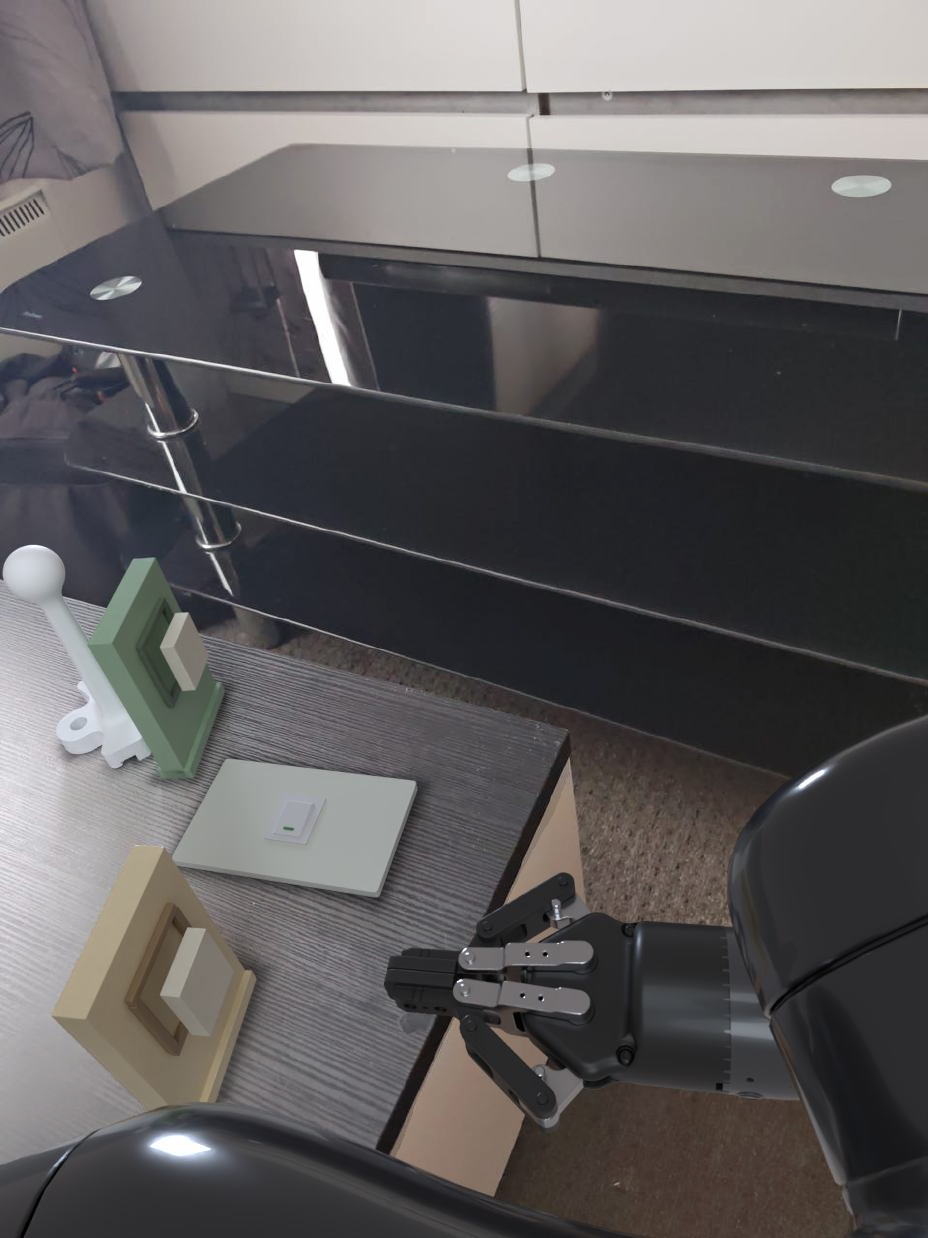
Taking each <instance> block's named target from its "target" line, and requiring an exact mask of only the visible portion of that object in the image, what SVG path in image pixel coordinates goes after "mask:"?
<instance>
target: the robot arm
mask: <svg viewBox="0 0 928 1238" xmlns="http://www.w3.org/2000/svg"><path fill="white" fill-rule="evenodd" d="M726 875H727V876H726V878H727V879H726V898H727V899H726V901H727V907H728V908H727V909H728V914H729V917H730V922H731V926H729V925H728V926H727V925H715V924H699V923H684V922H671V921H670V922H669V921H656V920H640V921H635V922H624V921H621V920H618V919H616V918H613V916H611V915H609V914H607V913H605V912H599V911H595V912H592V911H591V910H590V908H589V907H588V906H587V904H586V903H585V902H584V900H583V899H582V898H581V897H580V895H579V894H578V892H577V891H576V882H575V878H574V876H573V875H572V874H571V873H569V872H565V871H564V872H563V871H562V872H558V873H556V874H555V875H552V876H551V877H549V878H547V879H546V880H545V881H543V882H541V883H539V884H537V885H536V886H534V887H532V888H530V889H529V890H528V891H526V892H524V893H523V894H520V895H519V896H517V897H515V898H514V899H512V900H511V901H509V902H507V903H505V904H504V905H502V906H500V907H498V908H497V909H495V910H494V911H492V912H490V913H488V914H487V915H485V916H483V917H481V918H480V919H479V920H478V921H477V922H476V925H475V930H476V932H475V934H474V935H473V937H472V938H471V940H470V942H469V943H468V945H467V946H466V947H464V948H462V949H459V950H451V949H439V948H438V949H437V948H426V947H425V948H422V947H408V948H405V949H402V950H401V953H400V955H399V954H393V955H390V956H389V958H388V963H387V966H386V972H385V976H384V980H383V987H384V989H385V992H386V993H387V997H388V998H390V999H391V1000H393V1001H394V1002H395V1004H396V1006H397V1008H398V1009H399V1010H402V1011H404V1012H406V1013H413V1014H416V1013H417V1014H425V1015H434V1016H443V1017H445V1016H446V1017H452V1018H455V1019H457V1020H458V1021H459V1025H458V1026H459V1027H458V1029H459V1034H460V1036H461V1038H462V1039H463V1041H464V1045H465V1050H466V1052H467V1055H468V1057H469V1058H470V1059H471V1060H473V1062H474V1063H475V1064H476V1065H477V1066H478V1067H479V1068H480V1069H481V1070H482V1072H484V1073H485V1074H486V1076H487V1077H488V1078H489V1079H490V1080H491V1081H492V1082H493V1083H494V1084H495V1086H497V1087H498V1088H499V1089H500V1090H501V1091H502V1093H504V1094H505V1095H506V1097H508V1098H509V1100H510V1101H511V1102H512V1103H513V1104H514V1105H515V1106H516V1107H517V1108H518V1109H519V1111H521V1112H522V1114H524V1116H525V1117H526V1118H528V1120H529V1121H530V1122H531V1123H532V1124H533V1125H534V1126H535V1127H536V1128H537V1129H538V1130H539V1131H540V1132H542V1133H544V1134H551V1133H554V1132H555V1131H557V1129H559V1127H560V1123H561V1116H560V1115H561V1114H562V1113H563V1111H564V1110H565V1109H566V1108H567V1107H568V1105H569V1104H570V1103H571V1102H572V1101H573V1100H574V1099H575V1098H576V1097H577V1095H579V1093H580V1092H581V1091H582V1090H583V1089H585V1090H590V1091H597V1090H600V1089H603V1088H605V1087H607V1086H610V1085H612V1084H616V1083H629V1084H633V1085H639V1086H647V1087H655V1088H664V1089H675V1090H684V1091H692V1092H702V1093H703V1092H704V1093H712V1094H722V1095H729V1096H730V1095H731V1096H737V1097H738V1098H740V1099H745V1100H754V1101H761V1100H763V1099H768V1100H777V1101H778V1100H780V1101H800V1104H801V1105H802V1107H803V1110H804V1112H805V1115H806V1117H807V1119H808V1121H809V1123H810V1126H811V1129H812V1131H813V1133H814V1135H815V1138H816V1140H817V1143H818V1145H819V1147H820V1150H821V1152H822V1154H823V1157H824V1159H825V1161H826V1163H827V1166H828V1169H829V1171H830V1173H831V1176H832V1177H833V1180H834V1182H835V1184H837V1185H839V1188H840V1191H841V1195H842V1198H843V1201H844V1204H845V1207H846V1210H847V1213H848V1218H849V1226H848V1229H847V1232H846V1233H845V1234H844V1235H843V1236H842V1237H841V1238H928V711H924V712H921V713H919V714H916V715H912V716H909V717H907V718H904V719H902V720H899V721H896V722H893V723H890V724H888V725H885V726H882V727H881V728H878V729H876V730H874V731H872V732H870V733H867V734H865V735H863V736H861V737H859V738H857V739H855V740H852V741H851V742H848V743H846V744H844V745H843V746H841V747H839V748H837V749H834V750H833V751H831V752H829V753H828V754H826V755H824V756H823V757H821V758H819V759H818V760H815V761H814V762H813V763H811V764H809V765H808V766H806V767H805V768H804V769H802V770H801V771H800V772H798V773H797V774H795V775H794V776H793V777H791V778H790V779H788V780H787V781H785V782H784V783H782V785H781V786H779V787H778V788H777V789H776V790H775V791H774V792H773V793H772V794H771V795H770V796H769V797H768V798H767V799H766V800H765V801H764V802H763V803H761V804H760V805H759V807H757V808H756V809H755V811H754V812H753V814H752V815H751V816H750V817H749V819H748V820H747V822H746V823H745V825H744V826H743V828H742V829H741V830H740V832H739V834H738V835H737V839H736V841H735V844H734V847H733V849H732V852H731V854H730V857H729V860H728V863H727V871H726ZM550 928H553V929H556V930H557V931H555V932H553V933H551V934H549V935H548V936H546V937H544V938H542V939H540V940H539V941H538V942H528V941H530V940H533V938H535V937H537V936H539V935H540V934H542V933H544V932H545V931H547V930H548V929H550ZM492 1028H493V1029H499V1030H501V1031H502V1032H504V1033H506V1034H507V1035H511V1036H515V1037H520V1038H521V1037H522V1038H528V1040H529V1041H530V1042H531V1044H532V1045H533V1046H534V1047H536V1048H537V1049H538V1050H539V1051H540V1052H541V1053H542V1054H543V1055H544V1056H546V1057H547V1058H548V1059H549V1060H550V1061H551V1062H552V1063H553V1064H554V1065H555V1066H557V1067H558V1068H559V1070H558V1069H557V1070H556V1069H554V1068H551V1067H550V1066H548V1065H547V1064H544V1063H539V1064H535V1065H534V1066H532V1067H530V1066H529V1065H528V1064H527V1063H526V1062H525V1061H524V1059H522V1057H520V1056H519V1055H518V1053H516V1052H515V1051H514V1050H513V1049H512V1048H511V1047H510V1046H509V1045H508V1044H507V1043H506V1042H505V1041H504V1040H503V1039H502V1038H501V1037H500V1036H499V1035H498V1034H497V1033H496V1031H494V1030H493V1029H492ZM0 1238H654V1237H653V1236H647V1235H642V1234H635V1233H631V1232H625V1231H620V1230H615V1229H612V1228H608V1227H604V1226H599V1225H595V1224H591V1223H586V1222H584V1221H579V1220H575V1219H571V1218H568V1217H564V1216H560V1215H557V1214H552V1213H549V1212H546V1211H543V1210H538V1209H534V1208H530V1207H528V1206H524V1205H519V1204H516V1203H512V1202H509V1201H508V1200H507V1201H506V1200H504V1199H501V1198H498V1197H496V1196H492V1195H490V1194H487V1193H483V1192H481V1191H478V1190H476V1189H473V1188H470V1187H467V1186H464V1185H462V1184H460V1183H458V1182H454V1181H453V1180H450V1179H447V1178H445V1177H443V1176H440V1175H438V1174H435V1173H433V1172H430V1171H428V1170H426V1169H424V1168H422V1167H419V1166H416V1165H414V1164H412V1163H410V1162H407V1161H404V1160H403V1159H400V1158H398V1157H395V1156H394V1155H391V1154H388V1153H386V1152H383V1151H381V1150H379V1149H376V1148H373V1147H371V1146H369V1145H366V1144H363V1143H361V1142H358V1141H356V1140H354V1139H352V1138H349V1137H346V1136H344V1135H341V1134H339V1133H335V1132H332V1131H330V1130H327V1129H324V1128H321V1127H318V1126H315V1125H312V1124H309V1123H308V1122H307V1123H306V1122H304V1121H302V1120H298V1119H295V1118H292V1117H290V1116H286V1115H283V1114H281V1113H277V1112H274V1111H270V1110H267V1109H262V1108H258V1107H254V1106H249V1105H245V1104H244V1105H243V1104H242V1105H241V1104H238V1103H231V1102H219V1101H218V1102H217V1101H216V1102H187V1103H180V1104H174V1105H169V1106H163V1107H159V1108H156V1109H153V1110H150V1111H147V1110H146V1111H145V1112H142V1113H139V1114H136V1115H132V1116H129V1117H127V1118H124V1119H120V1120H118V1121H115V1122H113V1123H111V1124H108V1125H106V1126H103V1127H101V1128H98V1129H97V1128H96V1129H95V1130H92V1131H89V1132H87V1133H84V1134H81V1135H78V1136H76V1137H73V1138H70V1139H67V1140H66V1141H65V1140H64V1141H62V1142H59V1143H57V1144H55V1145H52V1146H49V1147H46V1148H43V1149H41V1150H38V1151H35V1152H32V1153H30V1154H28V1155H25V1156H22V1157H20V1158H17V1159H14V1160H12V1161H11V1160H10V1161H9V1162H6V1163H3V1164H0Z"/></svg>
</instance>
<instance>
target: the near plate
mask: <svg viewBox="0 0 928 1238" xmlns="http://www.w3.org/2000/svg"><path fill="white" fill-rule="evenodd" d="M188 927H189V928H202V929H206V930H207V931H208V933H209V934H210V936H211V937H212V939H213V940H214V942H215V943H216V945H217V946H218V948H219V949H220V951H221V952H222V954H223V955H224V957H225V958H226V960H227V961H228V963H229V964H230V966H231V967H232V968H233V970H234V972H233V974H232V977H231V980H230V983H229V986H228V988H227V991H226V994H225V997H224V1000H223V1003H222V1005H221V1008H220V1011H219V1014H218V1017H217V1019H216V1022H215V1025H214V1028H213V1031H212V1034H211V1036H210V1037H209V1036H200V1035H192V1034H191V1033H190V1032H189V1031H188V1029H187V1028H186V1027H185V1026H184V1024H183V1023H182V1022H181V1021H180V1019H179V1018H178V1017H177V1016H176V1015H175V1013H174V1012H173V1011H172V1010H171V1008H170V1007H169V1006H168V1005H167V1003H166V1002H165V1001H164V1000H163V999H162V997H161V996H160V993H161V991H162V988H163V986H164V983H165V981H166V978H167V976H168V973H169V971H170V968H171V966H172V964H173V961H174V959H175V956H176V954H177V951H178V949H179V946H180V944H181V941H182V939H183V937H184V934H185V932H186V929H187V928H188ZM257 979H258V978H257V977H256V975H255V973H254V972H253V970H252V969H245V968H244V966H243V964H242V963H241V962H240V960H239V959H238V957H237V955H236V954H235V952H234V951H233V949H232V948H231V946H230V944H228V942H227V940H226V939H225V937H224V936H223V934H222V932H221V931H220V929H219V928H218V926H217V925H216V923H215V922H214V920H213V918H212V917H211V916H210V914H209V913H208V911H207V909H206V908H205V907H204V905H203V903H202V902H201V900H200V899H199V897H198V896H197V894H196V893H195V891H194V889H193V888H192V887H191V884H189V882H188V881H187V879H186V877H185V875H184V874H183V872H182V871H181V870H180V868H179V866H177V865H176V864H175V862H174V861H173V859H172V855H171V854H170V853H169V851H168V850H167V847H165V846H162V845H161V846H160V845H143V844H132V847H131V849H130V851H129V853H128V856H127V857H126V860H125V862H124V864H123V866H122V867H121V870H120V872H119V874H118V876H117V878H116V880H115V883H114V884H113V887H112V889H111V891H110V893H109V894H108V897H107V898H106V901H105V903H104V905H103V907H102V909H101V911H100V913H99V915H98V917H97V920H96V921H95V923H94V925H93V927H92V930H91V932H90V934H89V936H88V938H87V940H86V942H85V944H84V946H83V948H82V951H80V954H79V956H78V959H77V961H76V962H75V965H74V966H73V969H72V971H71V973H70V975H69V977H68V979H67V981H66V983H65V984H64V987H63V989H62V991H61V993H60V994H59V995H60V996H59V998H58V1000H57V1002H56V1003H55V1006H54V1008H53V1010H52V1012H51V1014H50V1016H51V1018H52V1019H53V1020H54V1021H55V1022H57V1024H58V1025H59V1026H60V1027H62V1029H64V1030H65V1031H66V1032H67V1033H68V1034H69V1035H70V1036H71V1037H72V1039H74V1040H75V1041H76V1042H77V1043H78V1044H79V1045H80V1046H81V1047H82V1048H83V1049H84V1050H85V1051H86V1052H87V1053H88V1054H89V1055H90V1057H92V1058H93V1059H94V1060H95V1062H97V1063H98V1064H99V1065H100V1066H101V1067H103V1069H104V1070H105V1071H106V1072H107V1073H108V1074H109V1075H110V1076H111V1077H112V1078H113V1079H114V1080H115V1081H116V1082H117V1083H119V1085H121V1087H123V1088H124V1089H125V1090H126V1091H127V1092H128V1094H130V1095H131V1096H132V1097H133V1098H134V1099H135V1100H136V1101H137V1102H138V1103H139V1104H140V1105H141V1106H142V1107H143V1108H144V1109H145V1110H146V1112H147V1111H150V1110H153V1109H156V1108H159V1107H163V1106H169V1105H174V1104H180V1103H187V1102H217V1100H218V1096H219V1094H220V1090H221V1087H222V1084H223V1081H224V1078H225V1076H226V1072H227V1069H228V1067H229V1064H230V1061H231V1057H232V1054H233V1051H234V1048H235V1045H236V1043H237V1039H238V1037H239V1033H240V1031H241V1027H242V1025H243V1021H244V1018H245V1015H246V1012H247V1010H248V1006H249V1004H250V1000H251V998H252V994H253V991H254V988H255V986H256V982H257Z"/></svg>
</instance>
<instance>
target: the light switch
mask: <svg viewBox="0 0 928 1238" xmlns="http://www.w3.org/2000/svg"><path fill="white" fill-rule="evenodd" d="M418 790H419V789H418V784H417V782H416V780H411V779H402V778H397V777H395V778H394V777H386V776H379V775H370V774H362V773H354V772H343V771H336V770H328V769H321V768H320V769H319V768H311V767H303V766H294V765H285V764H278V763H270V762H260V761H252V760H245V759H244V760H243V759H237V758H226V759H225V760H224V761H223V763H222V764H221V767H220V769H219V770H218V772H217V774H216V776H215V778H214V780H213V781H212V783H211V784H210V786H209V789H208V790H207V792H206V793H205V796H204V798H203V799H202V801H201V803H200V805H199V806H198V808H197V810H196V812H195V814H194V816H193V817H192V818H191V821H190V823H189V824H188V826H187V828H186V830H185V832H184V834H183V835H182V837H181V839H180V841H179V843H178V844H177V847H176V848H175V849H174V851H173V853H172V855H171V857H172V859H173V861H174V862H175V864H176V865H177V867H181V868H182V867H183V868H189V869H195V870H201V871H209V872H213V873H220V874H226V875H233V876H237V877H245V878H250V879H251V878H252V879H258V880H263V881H270V882H276V883H282V884H289V885H295V886H300V887H308V888H313V889H319V890H320V889H321V890H326V891H332V892H339V893H345V894H351V895H356V896H363V897H369V898H379V897H380V895H381V894H382V891H383V889H384V886H385V883H386V880H387V878H388V875H389V871H390V869H391V865H392V863H393V860H394V858H395V854H396V851H397V849H398V846H399V843H400V841H401V837H402V835H403V832H404V829H405V826H406V823H407V821H408V819H409V815H410V812H411V810H412V807H413V804H414V801H415V798H416V796H417V793H418Z"/></svg>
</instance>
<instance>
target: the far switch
mask: <svg viewBox="0 0 928 1238" xmlns="http://www.w3.org/2000/svg"><path fill="white" fill-rule="evenodd" d="M160 649H161V651H162V653H163V655H164V657H165V659H166V661H167V663H168V664H169V666H170V668H171V670H172V672H173V674H174V676H175V678H176V680H177V682H178V683H179V685H180V687H181V689H182V691H191V690H196V688H197V686H198V683H199V681H200V678H201V676H202V673H203V670H204V668H205V665H206V663H208V661H209V658H210V654H209V652H208V650H207V648H206V646H205V643H204V641H203V640H202V637H201V636H200V633H199V631H198V629H197V626H196V625H195V623H194V620H193V617H192V616H191V614H190V612H182V613H175V615H174V617H173V619H172V621H171V624H170V626H169V628H168V630H167V632H166V635H165V637H164V639H163V641H162V643H161V646H160Z"/></svg>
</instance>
